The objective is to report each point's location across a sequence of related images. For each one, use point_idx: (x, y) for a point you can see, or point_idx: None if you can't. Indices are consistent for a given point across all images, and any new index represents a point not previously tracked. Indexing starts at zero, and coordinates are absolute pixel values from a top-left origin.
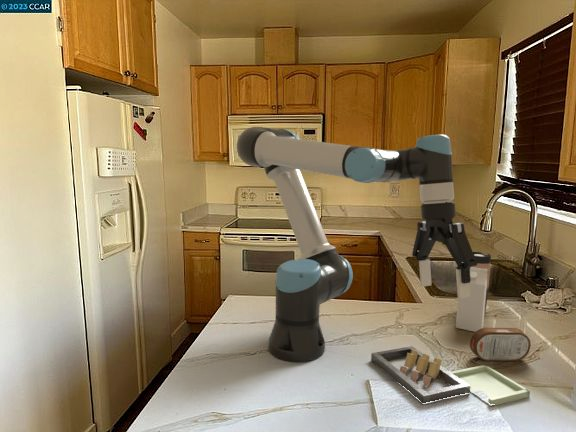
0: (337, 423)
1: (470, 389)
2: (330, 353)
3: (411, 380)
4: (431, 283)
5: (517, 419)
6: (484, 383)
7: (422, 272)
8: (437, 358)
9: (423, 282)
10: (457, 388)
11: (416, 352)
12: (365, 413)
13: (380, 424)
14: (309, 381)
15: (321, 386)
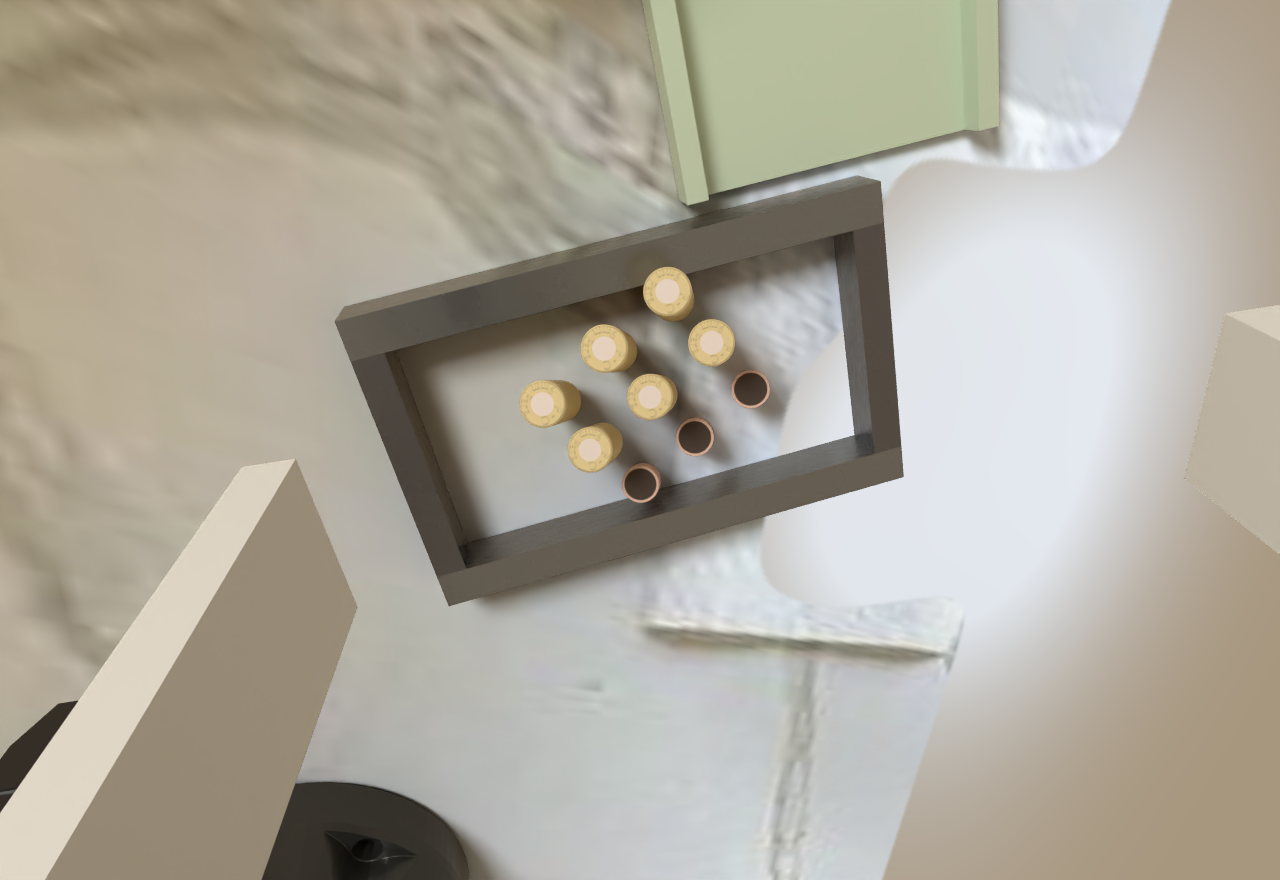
0: (901, 764)
1: (836, 153)
2: (366, 755)
3: (768, 485)
4: (282, 475)
5: (1097, 50)
6: (796, 9)
7: (269, 800)
8: (682, 307)
9: (330, 635)
10: (886, 276)
11: (564, 400)
12: (874, 679)
13: (944, 644)
14: (632, 836)
15: (675, 799)
